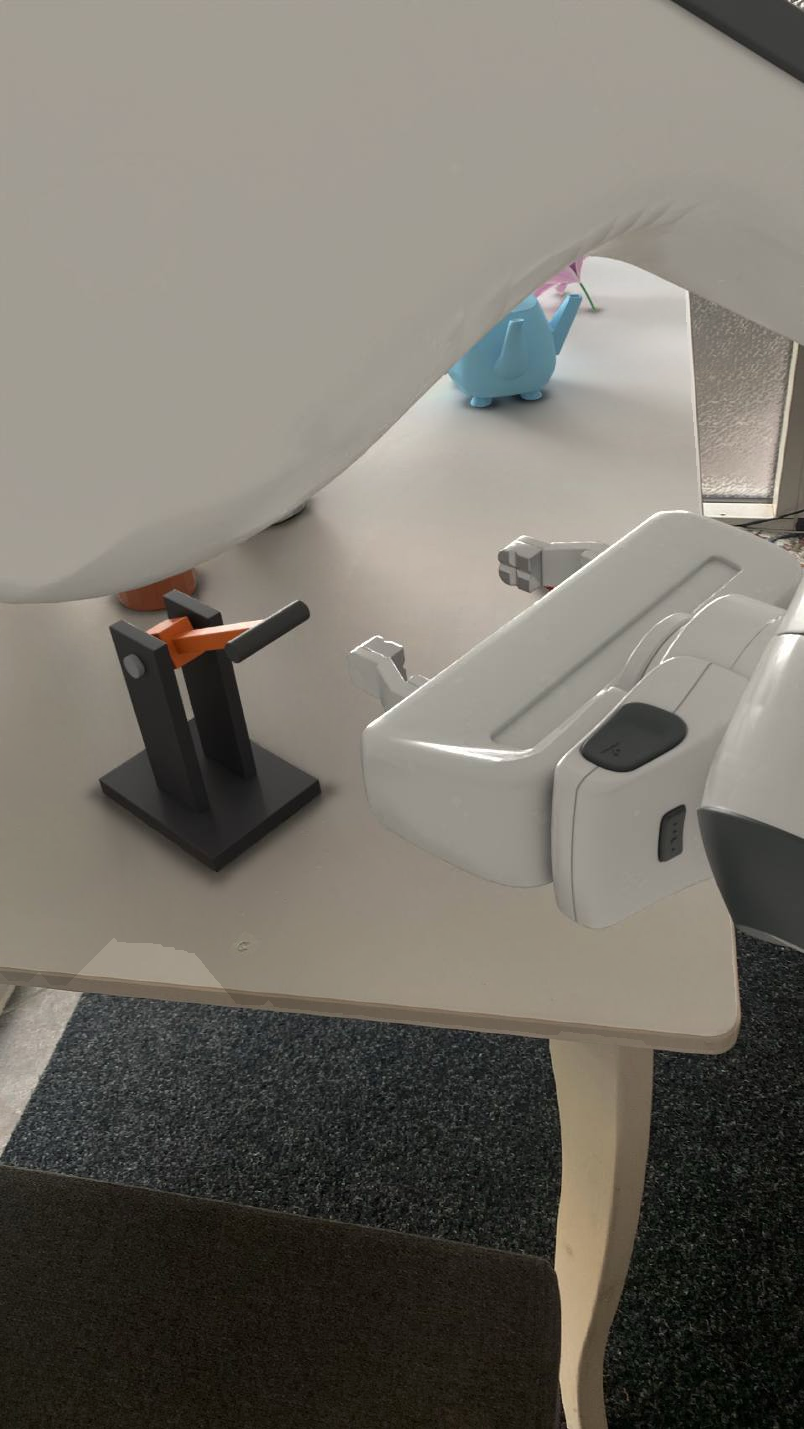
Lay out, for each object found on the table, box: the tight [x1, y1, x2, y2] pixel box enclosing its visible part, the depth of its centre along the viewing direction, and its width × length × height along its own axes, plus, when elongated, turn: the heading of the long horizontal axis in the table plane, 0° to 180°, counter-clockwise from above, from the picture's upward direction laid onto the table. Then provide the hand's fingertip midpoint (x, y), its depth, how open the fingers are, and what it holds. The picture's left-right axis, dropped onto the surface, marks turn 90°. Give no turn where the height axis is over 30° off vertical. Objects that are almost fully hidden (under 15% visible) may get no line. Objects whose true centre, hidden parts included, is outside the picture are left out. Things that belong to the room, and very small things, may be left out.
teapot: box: [443, 293, 583, 408], centre depth 119 cm, size 15×14×11 cm
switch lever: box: [145, 599, 311, 670], centre depth 63 cm, size 13×5×2 cm, turn 47°
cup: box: [117, 567, 198, 612], centre depth 92 cm, size 7×7×10 cm
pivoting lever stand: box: [98, 589, 322, 873], centre depth 70 cm, size 12×9×14 cm
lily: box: [533, 256, 596, 311], centre depth 139 cm, size 12×12×10 cm
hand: (438, 605), depth 47 cm, fingers open, 8 cm apart
